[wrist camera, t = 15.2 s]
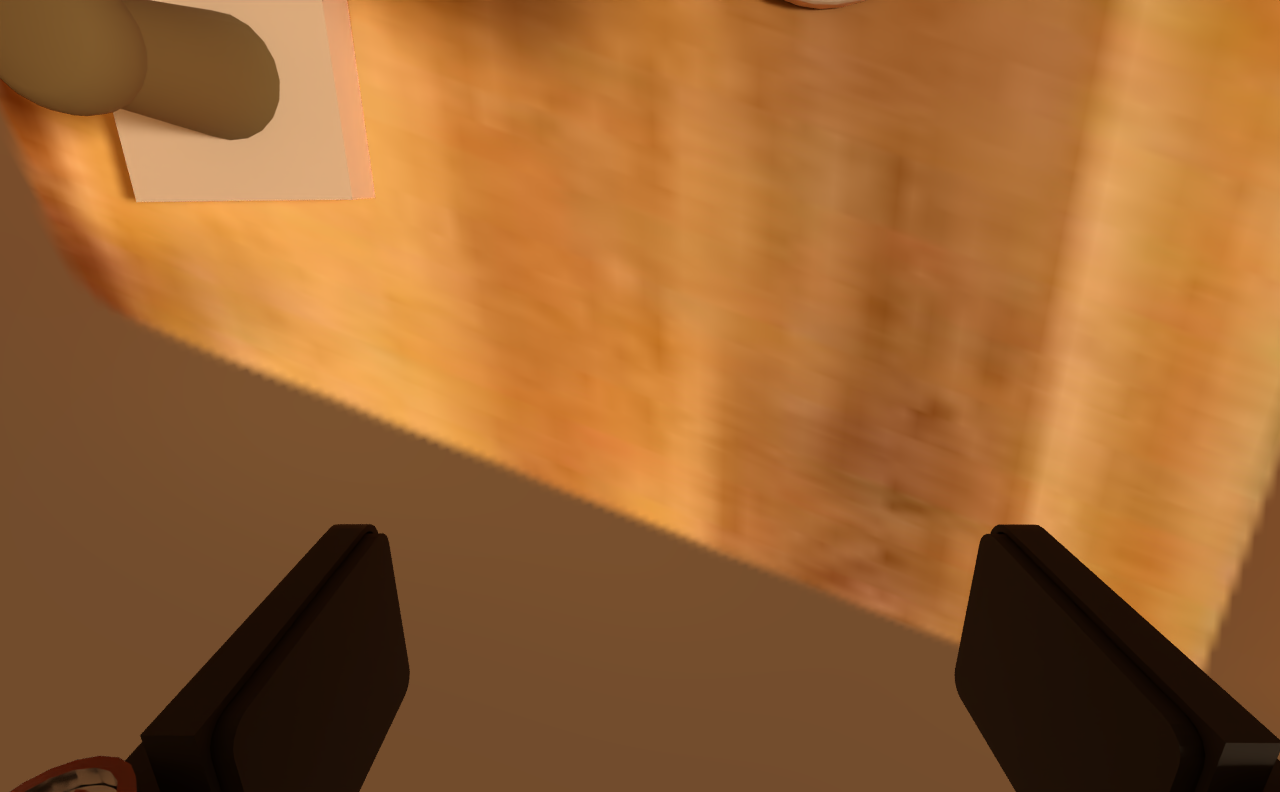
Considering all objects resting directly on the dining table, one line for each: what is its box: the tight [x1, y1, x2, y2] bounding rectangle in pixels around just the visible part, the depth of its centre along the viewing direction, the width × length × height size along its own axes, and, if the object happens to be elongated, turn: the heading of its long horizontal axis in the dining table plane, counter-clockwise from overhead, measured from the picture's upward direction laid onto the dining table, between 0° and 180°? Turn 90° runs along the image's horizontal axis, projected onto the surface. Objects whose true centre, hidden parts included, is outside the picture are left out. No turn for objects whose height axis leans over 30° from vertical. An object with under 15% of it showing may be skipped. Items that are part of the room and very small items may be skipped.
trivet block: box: [113, 0, 375, 202], centre depth 34 cm, size 12×12×3 cm
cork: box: [0, 0, 280, 140], centre depth 27 cm, size 6×6×11 cm
